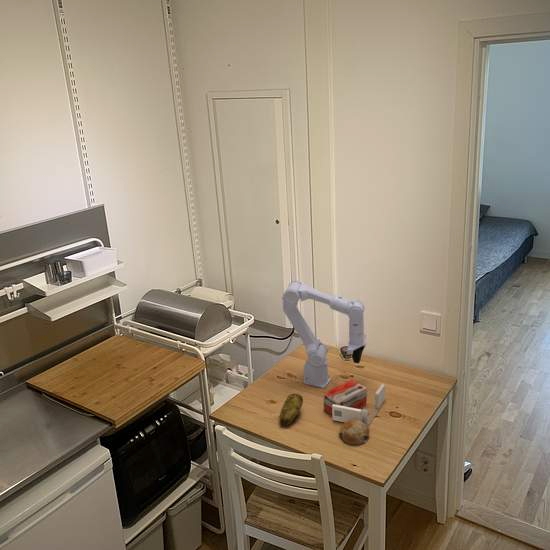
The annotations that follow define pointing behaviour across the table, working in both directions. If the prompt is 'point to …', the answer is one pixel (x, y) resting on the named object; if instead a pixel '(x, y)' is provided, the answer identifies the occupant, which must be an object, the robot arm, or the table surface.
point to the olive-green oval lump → (291, 408)
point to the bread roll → (354, 432)
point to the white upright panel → (378, 401)
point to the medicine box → (346, 396)
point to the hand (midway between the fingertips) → (356, 362)
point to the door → (345, 413)
